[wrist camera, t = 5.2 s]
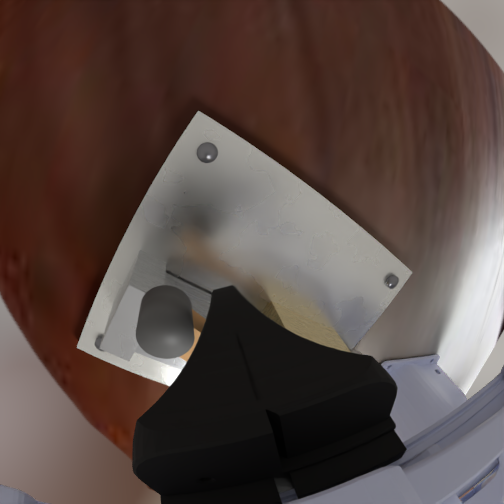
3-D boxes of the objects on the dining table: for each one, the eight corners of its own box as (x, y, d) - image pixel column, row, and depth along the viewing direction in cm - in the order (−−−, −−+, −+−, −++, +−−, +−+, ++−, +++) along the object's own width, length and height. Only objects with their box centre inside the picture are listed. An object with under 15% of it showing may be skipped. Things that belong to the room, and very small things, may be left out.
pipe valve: (366, 344, 22) (396, 381, 18) (323, 391, 23) (344, 430, 19) (147, 235, 15) (134, 276, 11) (108, 313, 16) (92, 366, 12)
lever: (339, 391, 16) (353, 413, 14) (298, 420, 16) (308, 443, 14) (174, 262, 10) (173, 289, 9) (122, 316, 11) (115, 346, 9)
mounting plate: (407, 269, 20) (415, 274, 19) (284, 411, 24) (287, 418, 23) (197, 111, 13) (198, 110, 12) (78, 341, 17) (75, 350, 16)
